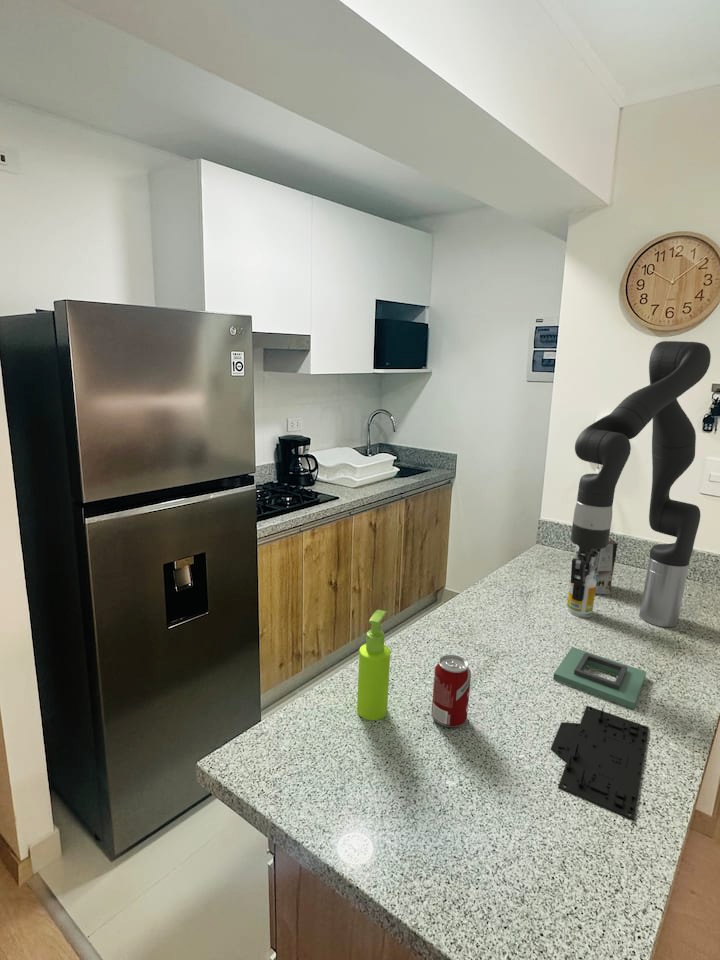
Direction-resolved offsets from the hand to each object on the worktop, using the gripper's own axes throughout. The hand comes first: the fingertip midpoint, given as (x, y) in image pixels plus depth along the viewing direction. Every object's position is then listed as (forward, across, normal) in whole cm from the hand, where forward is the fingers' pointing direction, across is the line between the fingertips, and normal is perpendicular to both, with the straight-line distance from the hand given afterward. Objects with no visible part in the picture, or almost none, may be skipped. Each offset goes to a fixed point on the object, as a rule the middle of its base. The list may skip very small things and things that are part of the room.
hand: (581, 594), depth 119 cm
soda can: (+17, -35, +12) cm, 41 cm away
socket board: (+17, -2, -7) cm, 19 cm away
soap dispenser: (+17, -43, +25) cm, 53 cm away
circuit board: (+18, -26, -12) cm, 34 cm away
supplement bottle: (+4, 0, 0) cm, 4 cm away
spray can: (+18, +28, +6) cm, 33 cm away
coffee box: (+18, +48, +8) cm, 52 cm away
